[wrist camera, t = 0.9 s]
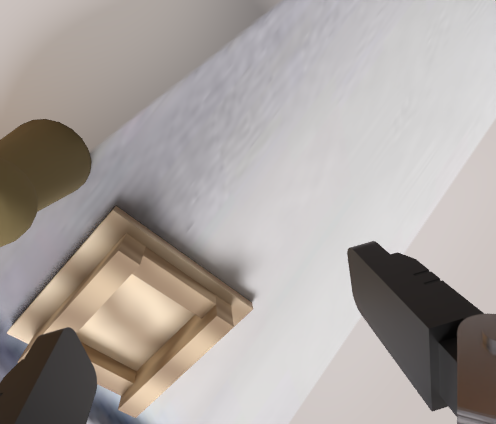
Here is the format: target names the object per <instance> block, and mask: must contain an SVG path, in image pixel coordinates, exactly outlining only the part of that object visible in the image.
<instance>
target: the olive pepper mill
mask: <svg viewBox="0 0 496 424" xmlns="http://www.w3.org/2000/svg"><path fill="white" fill-rule="evenodd" d="M90 169H91V158H90V154H89V150H88V148H87V146H86V145H85V143H84V141H83V140H82V138H81V137H80V136H79V135H78V134H77V133H75V132H74V131H73V130H72V129H71V128H69V127H67V126H65V125H64V124H61V123H60V122H56V121H52V120H47V119H41V120H32V121H29V122H27V123H24V124H22V125H20V126H19V127H18V128H16V129H15V130H14V131H12V132H11V133H9V134H8V135H7V136H5V137H4V138H2V139H1V140H0V247H2V246H4V245H6V244H9V243H11V242H14V241H16V240H17V239H18V238H19V237H20V236H21V235H23V234H24V233H25V232H26V231H27V230H28V229H29V228H30V227H31V225H32V223H33V220H34V218H35V216H36V214H37V212H38V211H39V210H41V209H43V208H45V207H47V206H49V205H50V204H52V203H54V202H56V201H58V200H59V199H61V198H63V197H65V196H67V195H69V194H70V193H72V192H74V191H76V190H77V189H78V188H80V187H81V186H82V185H83V184H84V183H85V182H86V180H87V178H88V176H89V174H90Z"/></svg>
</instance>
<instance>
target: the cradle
mask: <svg viewBox="0 0 496 424" xmlns="http://www.w3.org/2000/svg"><path fill="white" fill-rule="evenodd" d="M252 310H253V306H252V302H250V301H249V300H247V299H246V298H245V297H243V296H242V295H240V294H239V293H238V292H236V291H235V290H233V289H232V288H231V287H229V286H228V285H226V284H225V283H224V282H222V281H221V280H219V279H218V278H217V277H215V276H214V275H212V274H211V273H210V272H208V271H207V270H205V269H204V268H203V267H201V266H200V265H198V264H197V263H196V262H194V261H193V260H191V259H190V258H189V257H187V256H186V255H184V254H183V253H182V252H180V251H179V250H177V249H176V248H175V247H173V246H172V245H170V244H169V243H168V242H166V241H165V240H163V239H162V238H160V237H159V236H158V235H156V234H155V233H153V232H152V231H151V230H149V229H148V228H146V227H145V226H144V225H142V224H141V223H139V222H138V221H137V220H135V219H134V218H132V217H131V216H130V215H128V214H127V213H125V212H124V211H123V210H121V209H120V208H118V207H117V206H115V207H114V208H113V210H112V211H111V212H110V213H109V214H108V215H107V216H106V218H105V219H104V220H103V221H102V222H101V223H100V225H99V226H98V227H97V228H96V229H95V230H94V231H93V233H92V234H91V235H90V236H89V237H88V238H87V240H86V241H85V242H84V243H83V244H82V245H81V246H80V248H79V249H78V250H77V251H76V252H75V253H74V255H73V256H72V257H71V258H70V259H69V260H68V261H67V263H66V264H65V265H64V266H63V267H62V268H61V270H60V271H59V272H58V273H57V274H56V275H55V276H54V278H53V279H52V280H51V281H50V282H49V283H48V285H47V286H46V287H45V288H44V289H43V290H42V291H41V293H40V294H39V295H38V296H37V297H36V298H35V300H34V301H33V302H32V303H31V304H30V305H29V306H28V308H27V309H26V310H25V311H24V312H23V313H22V315H21V316H20V317H19V318H18V319H17V320H16V321H15V323H14V324H13V325H12V326H11V328H10V329H9V330H8V332H7V334H9V335H11V336H13V337H15V338H17V339H19V340H21V341H23V342H25V343H27V344H28V346H27V348H26V349H25V351H24V352H23V354H22V356H21V357H20V359H19V361H18V363H19V362H20V361H21V360H22V359H24V358H25V356H26V355H27V353H28V351H29V350H30V348H31V346H32V345H33V343H34V342H35V340H36V338H37V337H38V336H40V335H42V334H45V333H49V332H52V331H56V330H60V329H63V328H67V327H70V328H72V329H73V330H74V331H75V332H76V334H77V336H78V338H79V340H80V342H81V343H82V345H83V347H84V349H85V351H86V353H87V355H88V357H89V359H90V360H91V362H92V364H93V366H94V368H95V371H96V376H97V384H98V385H100V386H102V387H104V388H107V389H109V390H111V391H113V392H115V393H117V394H119V395H121V399H120V404H119V408H118V410H120V411H122V412H124V413H126V414H128V415H130V416H133V417H135V418H136V417H137V416H138V415H139V414H140V413H141V412H143V411H144V410H145V409H146V408H147V407H148V406H149V405H150V404H151V403H152V402H153V401H155V400H156V399H157V398H158V397H159V396H160V395H161V394H162V393H163V392H164V391H165V390H166V389H167V388H169V387H170V386H171V385H172V384H173V383H174V382H175V381H176V380H177V379H178V378H179V377H180V376H182V375H183V374H184V373H185V372H186V371H187V370H188V369H189V368H190V367H191V366H192V365H193V364H194V363H196V362H197V361H198V360H199V359H200V358H201V357H202V356H203V355H204V354H205V353H206V352H207V351H209V350H210V349H211V348H212V347H213V346H214V345H215V344H216V343H217V342H218V341H219V340H220V339H221V338H223V337H224V336H225V335H226V334H227V333H228V332H229V331H230V330H231V329H232V328H233V327H234V326H236V325H237V324H238V323H239V322H240V321H241V320H242V319H243V318H244V317H245V316H246V315H247V314H248V313H250V312H251V311H252Z"/></svg>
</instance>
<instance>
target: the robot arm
mask: <svg viewBox="0 0 496 424" xmlns="http://www.w3.org/2000/svg"><path fill="white" fill-rule="evenodd" d="M347 255H348V263H349V270H350V277H351V285H352V292H353V297H354V300H355V303H356V305H357V308H358V310H359V311H360V313H361V315H362V316H363V317H364V319H365V320H366V321H367V323H368V324H369V326H370V327H371V328H372V329H373V331H374V332H375V334H376V335H377V337H378V338H379V339H380V341H381V342H382V343H383V345H384V346H385V348H386V349H387V350H388V352H389V353H390V354H391V356H392V357H393V359H394V360H395V361H396V363H397V364H398V365H399V367H400V368H401V369H402V371H403V372H404V374H405V375H406V376H407V378H408V379H409V380H410V382H411V383H412V385H413V386H414V387H415V389H416V390H417V392H418V393H419V394H420V396H421V397H422V398H423V400H424V401H425V403H426V404H427V405H428V407H429V408H430V409H431V411H435V410H438V409H441V408H444V407H447V406H449V407H450V409H451V410H452V411H453V413H454V414H455V415H456V416H457V424H496V314H484V313H483V312H481V311H480V310H479V309H478V308H476V307H475V306H474V305H473V304H471V303H470V302H469V301H468V300H466V299H465V298H464V297H463V296H461V295H460V294H459V293H457V292H456V291H455V290H454V289H452V288H451V287H450V286H449V285H447V284H446V283H445V282H444V281H440V278H439V277H437V276H436V275H435V274H433V273H432V272H429V270H428V269H427V268H426V267H425V266H423V265H422V264H421V263H420V262H418V261H417V260H416V259H414V258H411V257H408V256H406V255H403V254H400V253H394V254H391V255H390V254H389V253H388V252H387V251H386V250H385V249H383V248H382V247H381V246H380V245H379V244H378V243H376V242H375V241H372V242H369V243H365V244H362V245H358V246H355V247H351V248H349V249H348V252H347ZM96 389H97V376H96V371H95V368H94V366H93V364H92V362H91V360H90V359H89V357H88V355H87V353H86V351H85V349H84V347H83V345H82V343H81V342H80V340H79V338H78V336H77V334H76V332H75V331H74V330H73V329H72V328H70V327H67V328H63V329H60V330H56V331H52V332H49V333H45V334H42V335H40V336H38V337H37V338H36V340H35V342H34V343H33V345H32V346H31V348H30V350H29V351H28V353H27V355H26V356H25V358H24V359H22V360H21V361H20V362H19V363H18V364H17V365H16V366H15V367H14V368H13V369H12V370H11V371H10V372H9V373H8V374H7V375H6V376H5V377H4V378H3V380H2V381H1V383H0V424H86V422H87V419H88V416H89V412H90V409H91V406H92V403H93V400H94V396H95V393H96Z"/></svg>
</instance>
